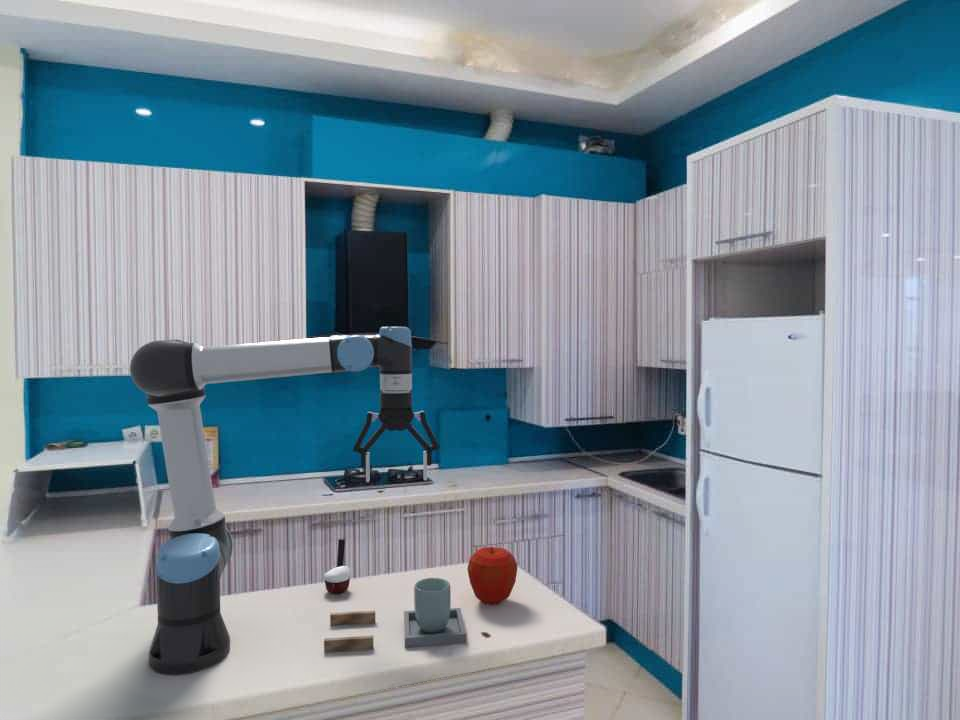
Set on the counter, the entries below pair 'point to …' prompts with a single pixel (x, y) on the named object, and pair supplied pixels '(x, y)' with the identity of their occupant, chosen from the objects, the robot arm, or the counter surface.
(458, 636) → the dock cradle
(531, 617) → the counter surface
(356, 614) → the dock rails
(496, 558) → the apple
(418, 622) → the cup
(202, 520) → the robot arm
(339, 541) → the cocoa
